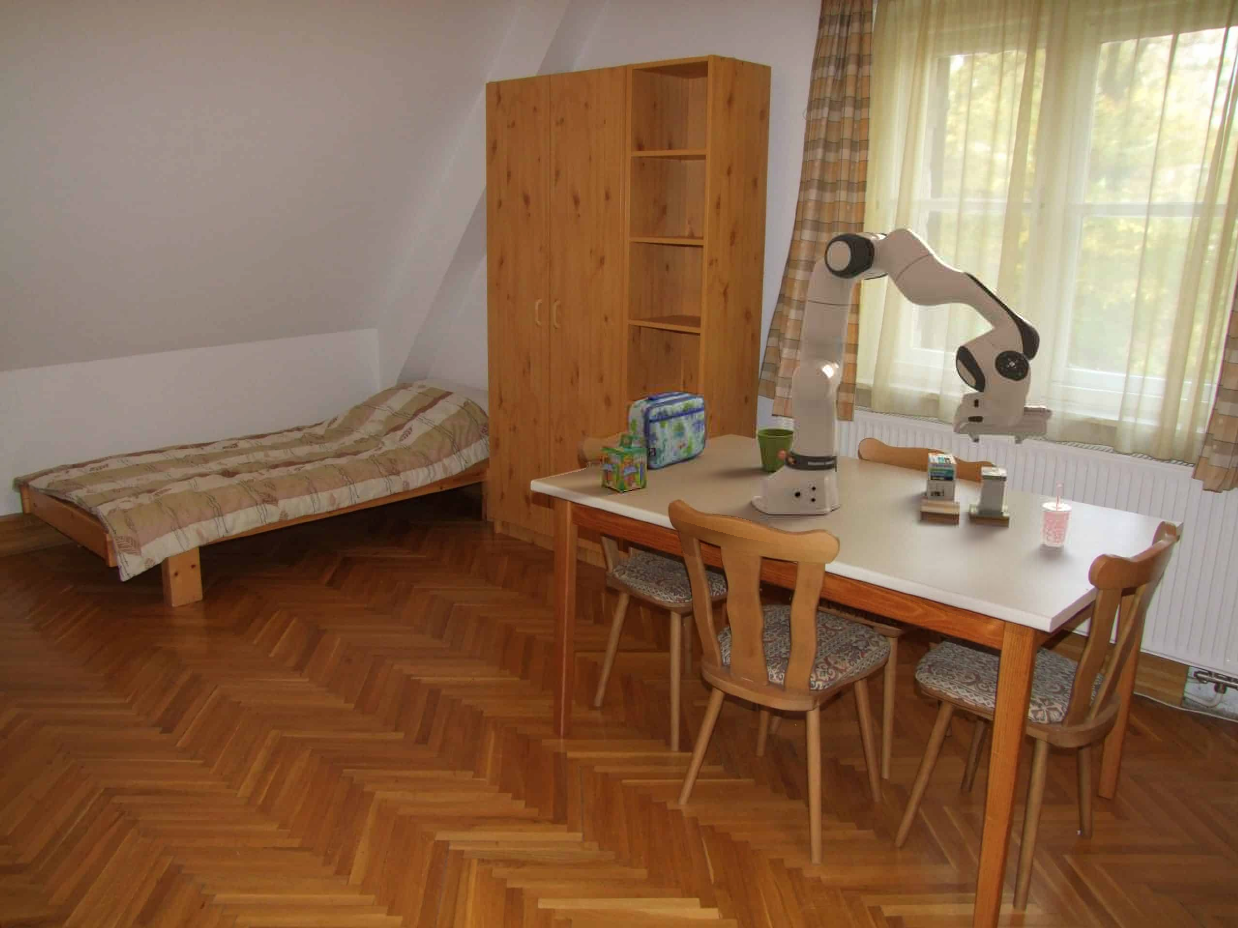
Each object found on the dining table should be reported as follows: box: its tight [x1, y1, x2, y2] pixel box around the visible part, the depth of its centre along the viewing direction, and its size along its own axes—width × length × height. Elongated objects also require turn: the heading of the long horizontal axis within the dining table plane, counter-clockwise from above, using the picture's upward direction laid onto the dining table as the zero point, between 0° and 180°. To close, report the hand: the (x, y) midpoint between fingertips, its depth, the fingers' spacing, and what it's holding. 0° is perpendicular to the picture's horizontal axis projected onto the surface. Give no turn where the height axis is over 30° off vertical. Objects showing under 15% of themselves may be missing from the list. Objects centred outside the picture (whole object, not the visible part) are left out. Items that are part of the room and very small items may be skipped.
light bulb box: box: [925, 452, 958, 502], centre depth 277 cm, size 11×7×11 cm, turn 168°
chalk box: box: [601, 433, 648, 491], centre depth 287 cm, size 9×9×15 cm
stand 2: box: [969, 500, 1010, 527], centre depth 259 cm, size 11×9×2 cm
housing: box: [977, 466, 1008, 517], centre depth 255 cm, size 8×6×10 cm
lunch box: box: [628, 391, 707, 470], centre depth 313 cm, size 26×11×21 cm, turn 133°
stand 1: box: [920, 498, 961, 525], centre depth 261 cm, size 11×9×2 cm
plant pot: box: [755, 427, 793, 472], centre depth 305 cm, size 12×12×11 cm
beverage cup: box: [1042, 484, 1073, 548], centre depth 239 cm, size 6×6×14 cm
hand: (996, 440), depth 243 cm, fingers open, 8 cm apart
